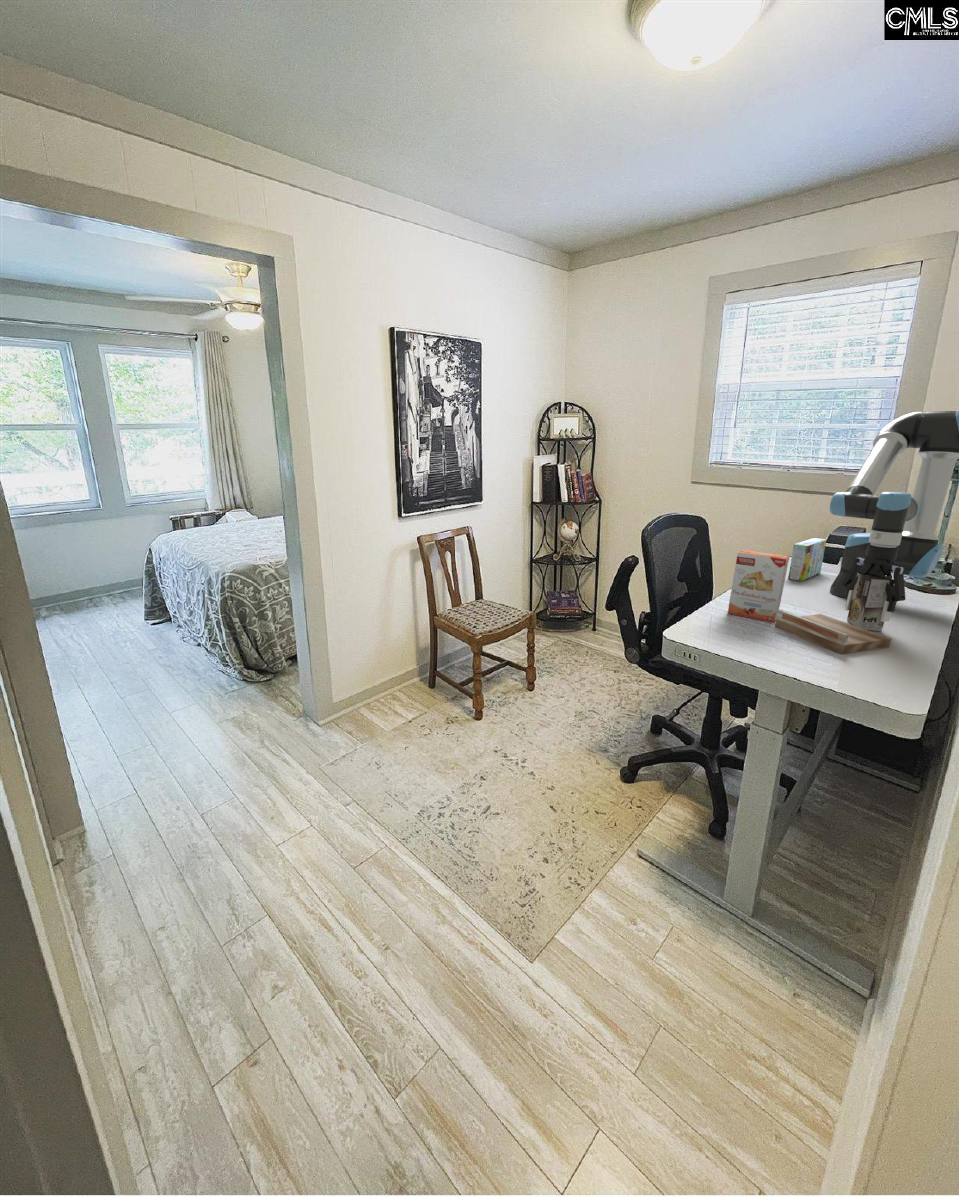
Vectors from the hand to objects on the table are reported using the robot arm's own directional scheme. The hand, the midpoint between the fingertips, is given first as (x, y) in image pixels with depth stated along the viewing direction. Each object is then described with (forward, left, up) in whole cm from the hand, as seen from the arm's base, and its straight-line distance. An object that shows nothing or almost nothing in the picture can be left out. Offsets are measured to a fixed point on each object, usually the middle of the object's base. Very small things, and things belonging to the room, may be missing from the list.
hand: (866, 615), depth 162 cm
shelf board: (+19, +4, -3) cm, 20 cm away
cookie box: (0, 0, -4) cm, 4 cm away
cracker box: (+27, -17, -4) cm, 32 cm away
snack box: (-35, -53, -4) cm, 63 cm away
